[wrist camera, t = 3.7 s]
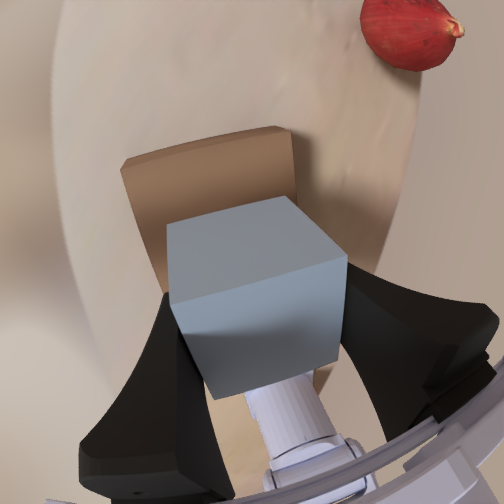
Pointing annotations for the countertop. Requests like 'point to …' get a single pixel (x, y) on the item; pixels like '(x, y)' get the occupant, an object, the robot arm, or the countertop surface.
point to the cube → (256, 294)
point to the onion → (410, 32)
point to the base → (205, 182)
